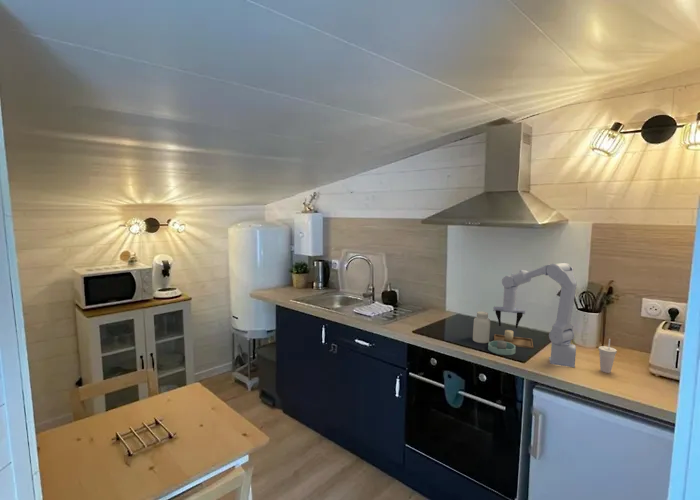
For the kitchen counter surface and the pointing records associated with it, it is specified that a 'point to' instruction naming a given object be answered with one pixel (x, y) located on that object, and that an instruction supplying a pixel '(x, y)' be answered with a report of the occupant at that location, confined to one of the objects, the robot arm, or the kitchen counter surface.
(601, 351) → the smoothie
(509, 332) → the pebble
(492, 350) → the bowl
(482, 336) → the pill bottle
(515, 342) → the tray
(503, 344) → the pebble
